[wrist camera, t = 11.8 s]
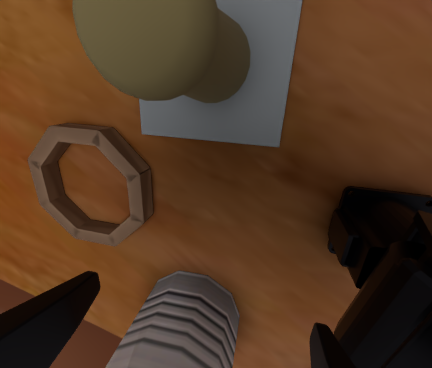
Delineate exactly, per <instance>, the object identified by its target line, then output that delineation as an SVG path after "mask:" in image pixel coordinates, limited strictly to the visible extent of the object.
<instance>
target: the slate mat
mask: <svg viewBox="0 0 432 368" xmlns="http://www.w3.org/2000/svg"><path fill="white" fill-rule="evenodd" d="M216 4H217V7H218V8H219V9H220V10H221V11H223V12H224V13H225V14H227V15H228V16H229V17H231V18H232V19H233V20H234V21H236V22H237V23H238V24H239V25H240V27H241V28H242V30H243V31H244V33H245V35H246V36H247V39H248V43H249V47H250V51H251V52H250V68H249V71H248V74H247V77H246V80H245V81H244V83H243V84H242V86H241V87H240V89H239V90H238V91H237V92H236V93H235V94H234V95H232V96H231V97H230V98H229V99H227V100H224V101H221V102H218V103H203V102H200V101H198V100H195V99H192V98H190V97H187V96H185V95H181V96H179V97H176V98H174V99H171V100H165V101H145V100H142V99H139V102H140V116H141V129H142V134H147V135H157V136H167V137H178V138H188V139H198V140H209V141H219V142H229V143H240V144H250V145H261V146H271V147H279V144H280V137H281V131H282V125H283V119H284V112H285V106H286V100H287V93H288V87H289V81H290V75H291V68H292V62H293V56H294V49H295V43H296V37H297V30H298V24H299V18H300V12H301V5H302V0H216Z"/></svg>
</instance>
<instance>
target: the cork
mask: <svg viewBox="0 0 432 368" xmlns="http://www.w3.org/2000/svg"><path fill="white" fill-rule="evenodd" d="M73 15H74V20H75V25H76V30H77V35H78V37H79V39H80V41H81V43H82V46H83V48H84V50H85V52H86V55H87V56H88V58H89V59H90V61H91V62H92V63H93V64H94V66H95V67H96V68H97V70H98V71H99V72H100V74H101V75H102V76H103V77H104V79H105V80H107V81H108V82H109V83H111V84H112V85H113V86H115V87H116V88H117V89H119V90H120V91H121V92H124V93H126V94H128V95H131V96H134V97H136V98H139V99H142V100H145V101H165V100H171V99H174V98H176V97H179V96H181V95H185V96H187V97H190V98H192V99H195V100H198V101H200V102H203V103H218V102H221V101H224V100H227V99H229V98H230V97H231V96H232V95H234V94H235V93H236V92H237V91H238V90H239V89H240V87H241V86H242V84H243V83H244V81H245V80H246V77H247V74H248V71H249V68H250V52H251V51H250V47H249V43H248V39H247V36H246V35H245V33H244V31H243V30H242V28H241V27H240V25H239V24H238V23H237V22H236V21H234V20H233V19H232V18H231V17H229V16H228V15H227V14H225V13H224V12H223V11H221V10H220V9H219V8H218V7H217V4H216V0H73Z"/></svg>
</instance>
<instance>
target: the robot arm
mask: <svg viewBox="0 0 432 368" xmlns="http://www.w3.org/2000/svg"><path fill="white" fill-rule="evenodd" d="M350 191H353V194H351V195H349V194H348V193H349V192H350ZM427 201H430V202H429V203H428V204H425V203H426V202H427ZM328 236H329V238H330V239H329V243H328V249H329V251H330V252H331V253H334V254H336V255H337V258H338V260H339V263H340V264H341V265H342V266H343V267H347V268H348V270H349V272H350V275H351V277H352V279H353V281H354V284H355V286H356V287H357V288H359V289H360V291H359V292H358V294H357V295H356V297H355V298H354V300H353V301H352V303H351V304H350V306H349V307H348V309H347V310H346V312H345V313H344V315H343V316H342V318H341V319H340V321H339V322H338V324H337V326H336V329H335V331H334V334H333V333H332V331H331V330H330V328H329V327H328V326H327V325H325V324H321V323H315V324H314V326H313V329H312V333H311V336H310V356H311V368H432V197H431V196H428V195H419V194H411V193H403V192H394V191H386V190H378V189H370V188H361V187H353V186H349V187H346V188H345V189H344V191H343V194H342V198H341V201H340V205H339V208H337V209H336V210H335V211H334V214H333V217H332V221H331V224H330V228H329V231H328ZM332 247H333V248H334V249H333V248H332ZM99 291H100V281H99V276H98V273H96V272H93V271H87V272H84V273H82V274H80V275H78V276H76V277H74V278H72V279H70V280H68V281H66V282H64V283H62V284H60V285H58V286H56V287H54V288H52V289H50V290H48V291H46V292H44V293H42V294H40V295H38V296H36V297H34V298H32V299H30V300H28V301H26V302H24V303H22V304H20V305H18V306H16V307H14V308H12V309H10V310H8V311H6V312H4V313H2V314H0V368H49V367H50V366H51V364H52V362H53V361H54V360H55V359H56V357H57V356H58V354H59V353H60V352H61V350H62V349H63V347H64V346H65V344H66V343H67V342H68V340H69V339H70V338H71V336H72V335H73V333H74V332H75V331H76V329H77V328H78V326H79V325H80V323H81V321H82V320H83V318H84V316H85V315H86V313H87V311H88V310H89V308H90V306H91V305H92V303H93V301H94V300H95V298H96V296H97V295H98V293H99Z"/></svg>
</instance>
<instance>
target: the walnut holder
mask: <svg viewBox="0 0 432 368" xmlns="http://www.w3.org/2000/svg"><path fill="white" fill-rule="evenodd" d="M71 143H76V144H85V145H94V146H96V147H97V148H98V149H99V150H100V151H101V152H102V153H103V154H104V155H105V156H106V157H107V159H108V160H109V161H110V162H111V163H112V164H113V165H114V166H115V167H116V168H117V169H118V170H119V171H120V172H121V173H122V174H123V175H124V176H125V178H126V179H127V188H128V197H129V206H130V217H129V218H128V219H126V220H125V221H124V222H123V223H122V224H121V225H118V224H113V223H107V222H101V221H96V220H90V219H89V218H88V217H87V216H86V215H85V214H84V213H83V212H82V211H81V210H80V209H79V208H78V207H77V206H76V205H75V204H74V203H73V202H72V201H71V200H70V199H69V198H68V197H67V196H66V195H65V193H64V188H63V184H62V179H61V175H60V170H59V166H58V162H57V161H58V160H59V159H60V157H61V156H62V154H63V153H64V152H65V150H66V149H67V148H68V146H69V145H70V144H71ZM28 163H29V167H30V171H31V174H32V178H33V182H34V185H35V189H36V192H37V196H38V200H39V203H40V205H41V206H42V207H43V208H44V209H45V210H46V211H47V212H48V213H49V214H50V215H51V216H52V217H53V218H54V219H55V220H56V221H57V222H58V223H59V224H60V225H61V226H62V227H63V228H65V229H66V230H67V231H68V232H69V233H70V234H71V235H72V236H73V237H74V238H76V239H81V240H85V241H90V242H95V243H100V244H105V245H110V246H117V245H118V244H119V243H120V242H122V241H123V240H124V239H125V238H126V237H128V236H129V235H130V234H131V233H133V232H134V231H135V230H136V229H137V228H139V227H140V226H141V225H142V224H143V223H144V222H145V221H146V220H147V219H148V218H149V217H150V216H151V215H152V214H153V200H152V184H151V169H149V168H150V167H149V166H148V165H147V164H146V163H145V162H144V160H143V159H142V158H141V157H140V156H139V155H138V154H137V153H136V152H135V151H134V150H133V148H132V147H131V146H130V145H129V144H128V143H127V142H126V141H125V140H124V139H123V138H122V136H121V135H120V134H119V133H118V132H117V131H116V130H115V129H114V128H113V127H103V126H93V125H82V124H71V123H66V124H59V125H52V126H49V127H48V129H47V130H46V132H45V133H44V135H43V136H42V138H41V139H40V141H39V143H38V144H37V146H36V147H35V149H34V150H33V152H32V153H31V155H30V156H29V158H28Z"/></svg>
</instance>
